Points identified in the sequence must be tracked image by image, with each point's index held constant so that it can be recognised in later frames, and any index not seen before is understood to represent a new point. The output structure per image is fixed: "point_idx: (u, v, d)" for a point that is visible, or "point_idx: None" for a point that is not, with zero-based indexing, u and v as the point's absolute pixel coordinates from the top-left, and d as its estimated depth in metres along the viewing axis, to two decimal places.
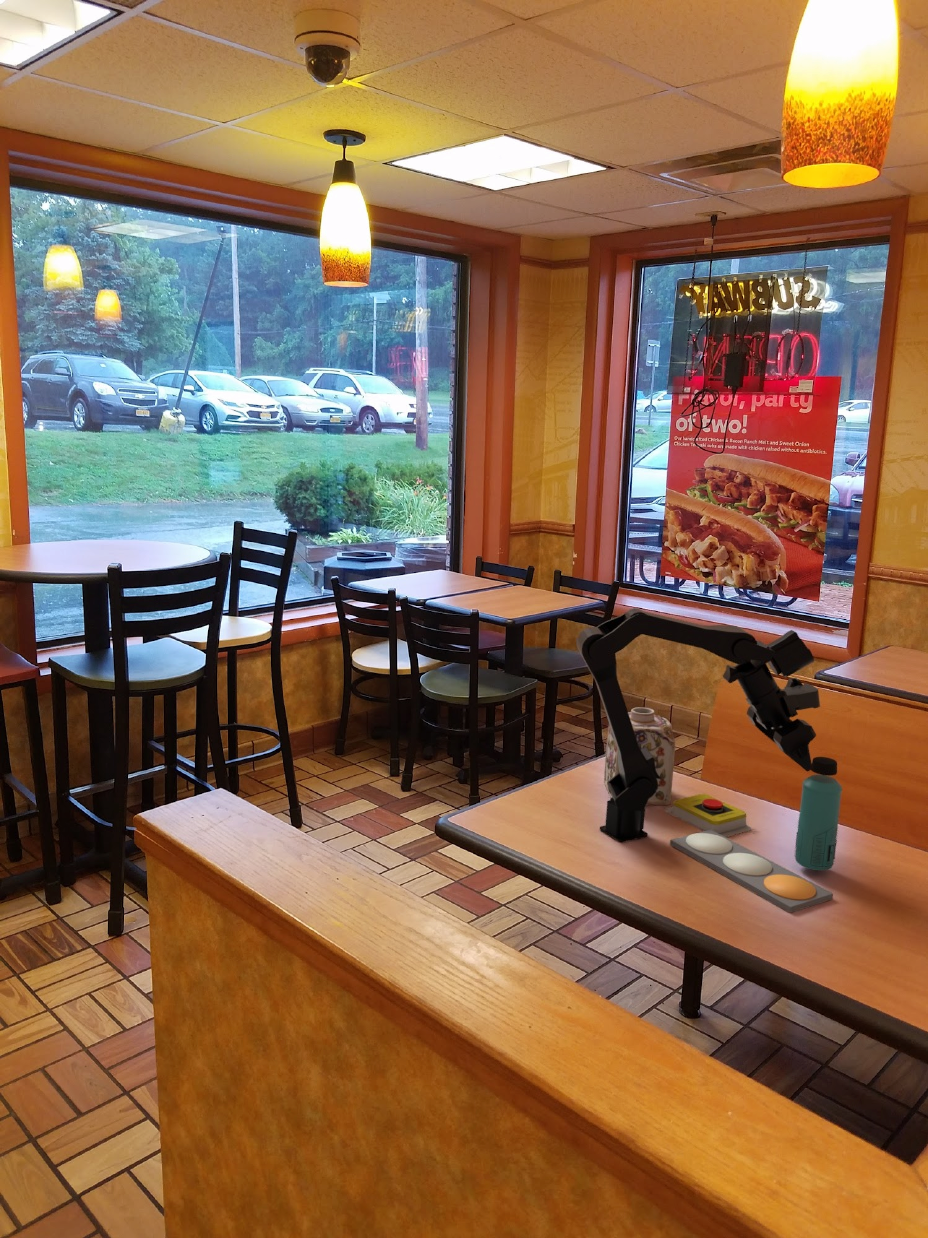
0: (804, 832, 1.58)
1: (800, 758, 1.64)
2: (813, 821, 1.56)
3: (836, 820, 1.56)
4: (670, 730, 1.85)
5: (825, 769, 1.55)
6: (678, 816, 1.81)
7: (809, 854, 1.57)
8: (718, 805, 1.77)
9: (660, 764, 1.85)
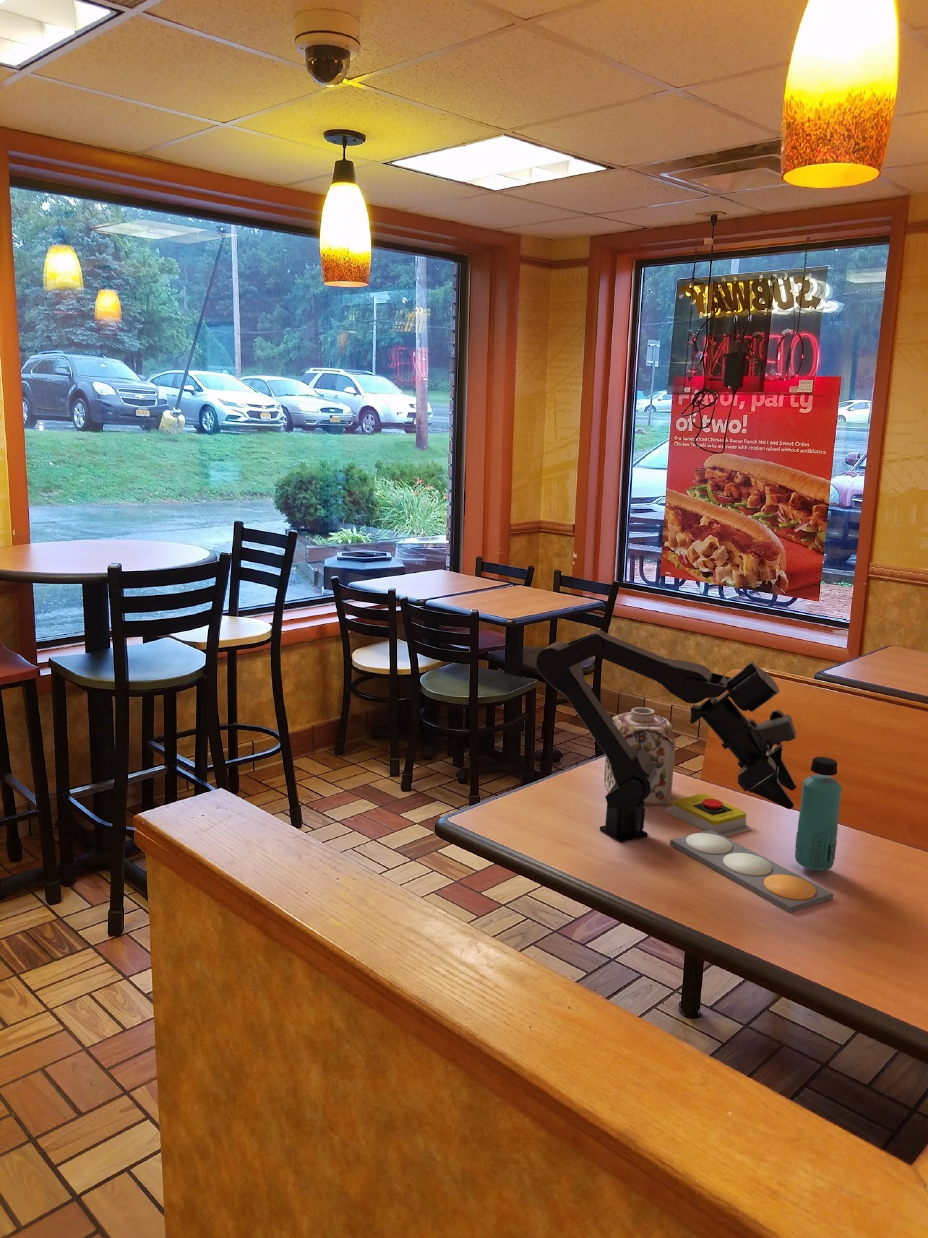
0: (804, 832, 1.58)
1: (774, 796, 1.55)
2: (813, 821, 1.56)
3: (836, 820, 1.56)
4: (670, 730, 1.85)
5: (825, 769, 1.55)
6: (678, 816, 1.81)
7: (809, 854, 1.57)
8: (718, 805, 1.78)
9: (660, 764, 1.85)
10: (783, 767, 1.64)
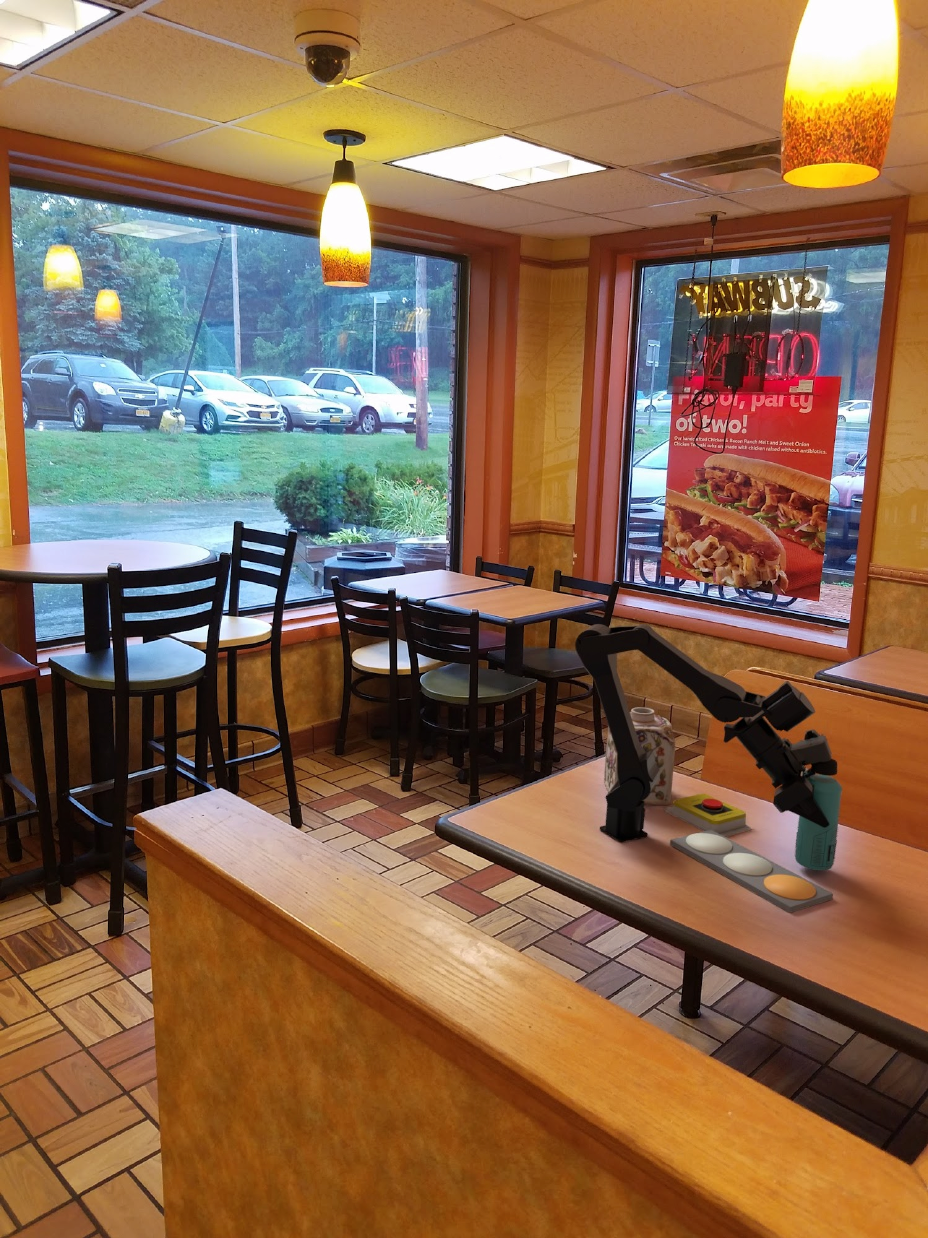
0: (804, 832, 1.58)
1: (810, 814, 1.55)
2: None
3: (836, 820, 1.56)
4: (670, 730, 1.85)
5: (825, 769, 1.55)
6: (678, 816, 1.81)
7: (809, 854, 1.57)
8: (718, 805, 1.78)
9: (660, 764, 1.85)
10: None
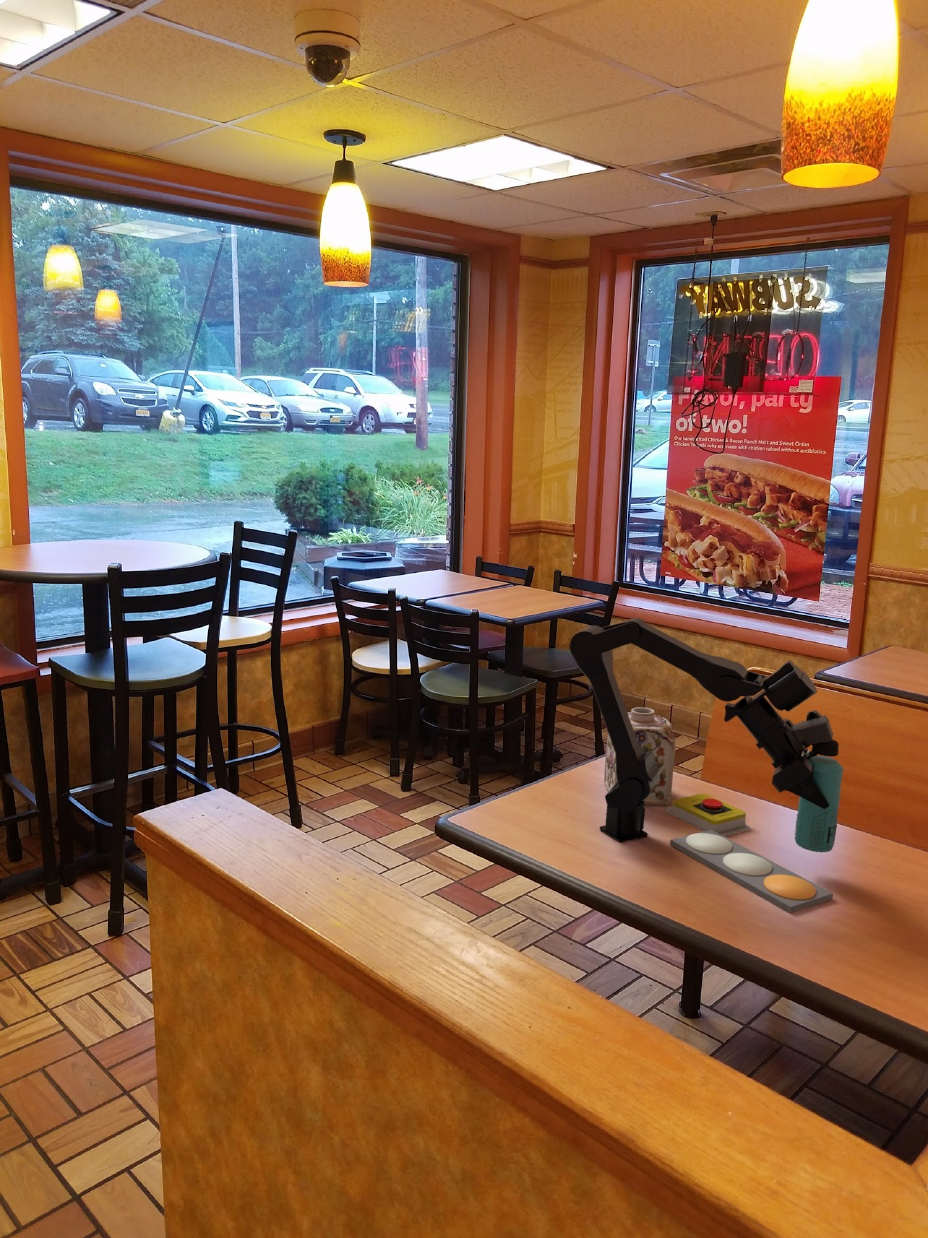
0: (804, 813, 1.56)
1: (809, 795, 1.53)
2: None
3: (837, 802, 1.55)
4: (670, 730, 1.85)
5: (826, 749, 1.54)
6: (677, 816, 1.81)
7: (809, 835, 1.56)
8: (717, 805, 1.78)
9: (660, 764, 1.85)
10: None
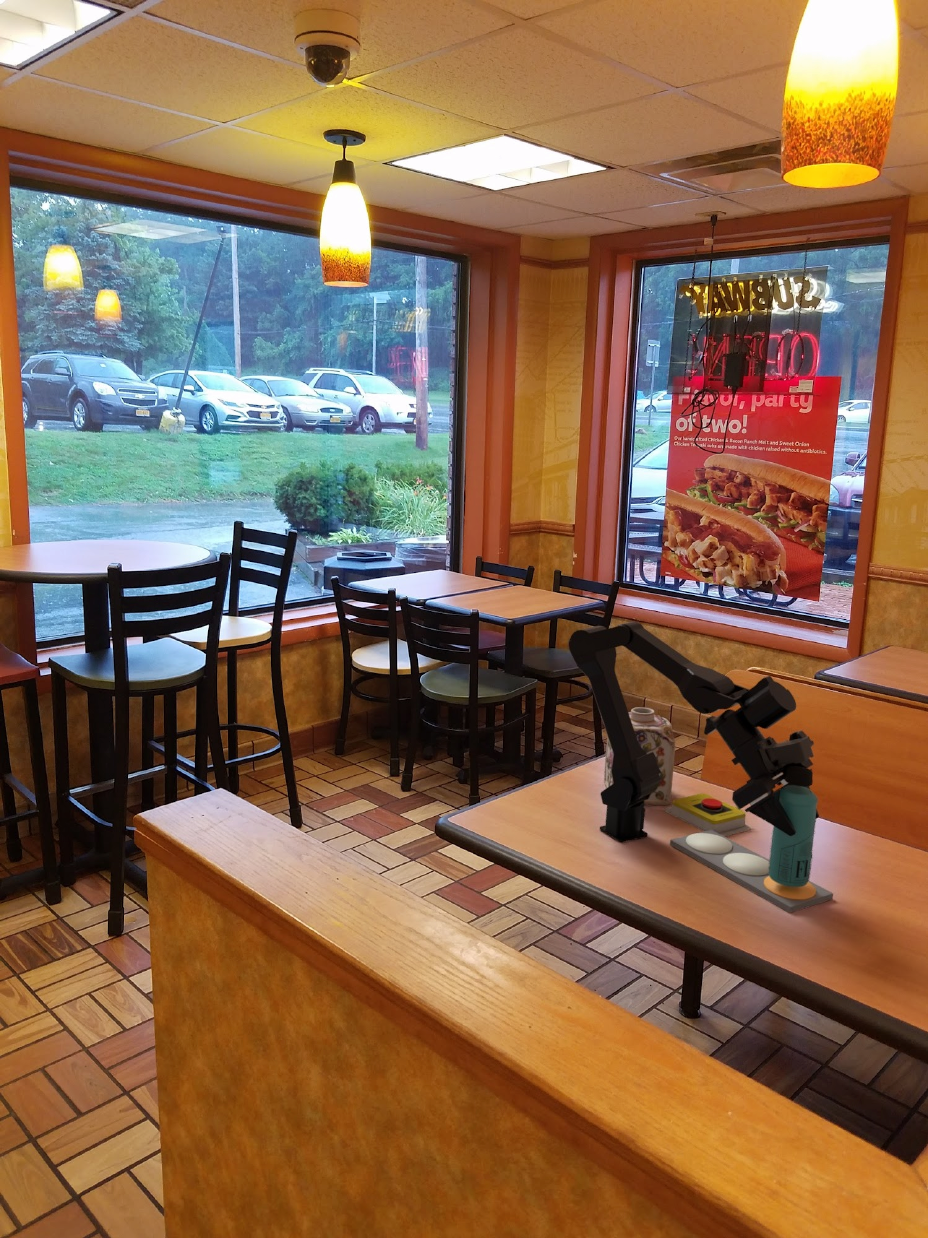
0: (774, 843, 1.50)
1: (773, 819, 1.46)
2: (781, 833, 1.48)
3: (807, 835, 1.47)
4: (670, 730, 1.85)
5: (795, 778, 1.46)
6: (677, 815, 1.81)
7: (777, 867, 1.49)
8: (717, 805, 1.78)
9: (660, 764, 1.85)
10: None
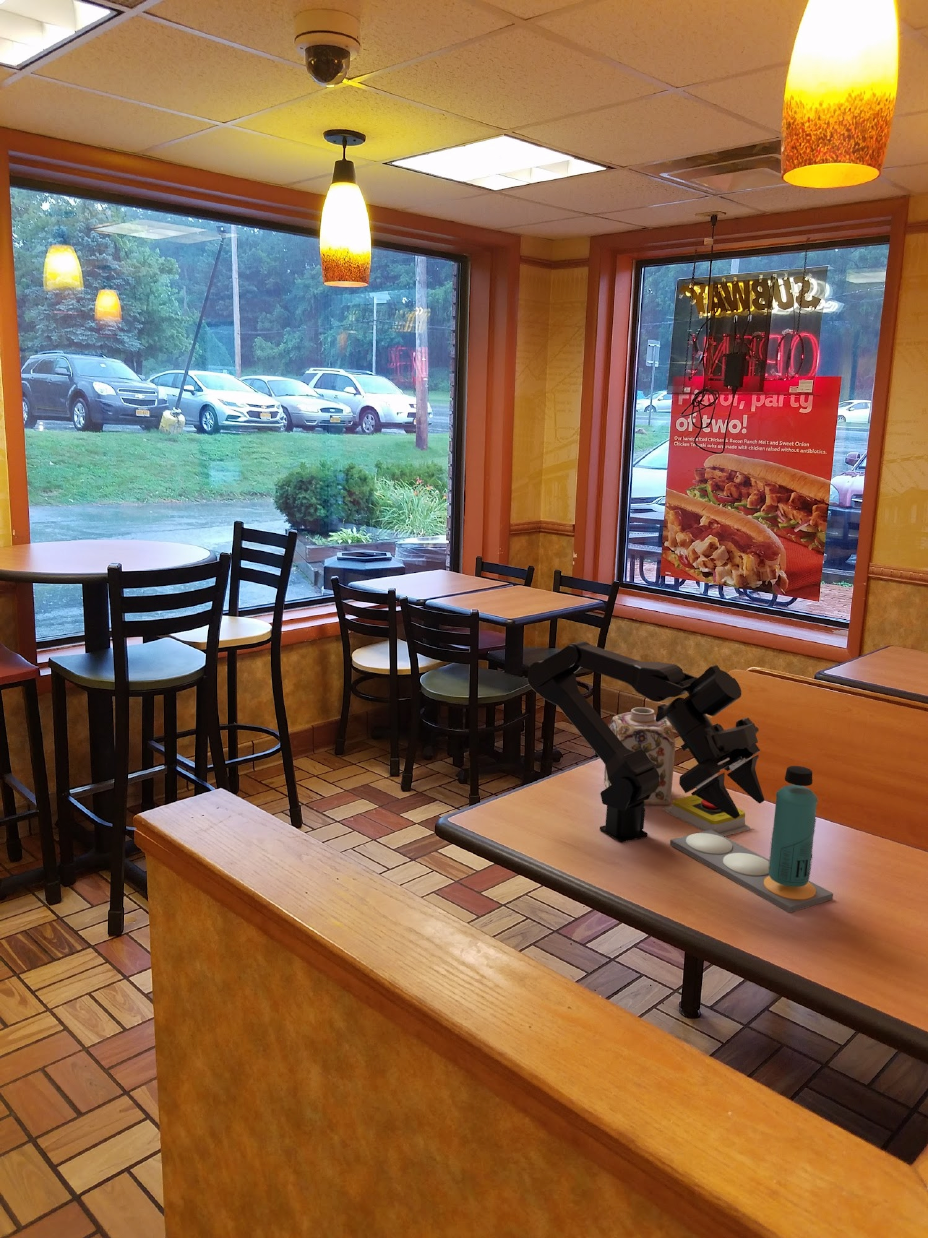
0: (774, 843, 1.50)
1: (718, 802, 1.52)
2: (781, 832, 1.48)
3: (807, 834, 1.47)
4: (670, 730, 1.85)
5: (795, 778, 1.47)
6: (677, 815, 1.81)
7: (777, 867, 1.49)
8: None
9: (660, 764, 1.85)
10: (752, 778, 1.59)
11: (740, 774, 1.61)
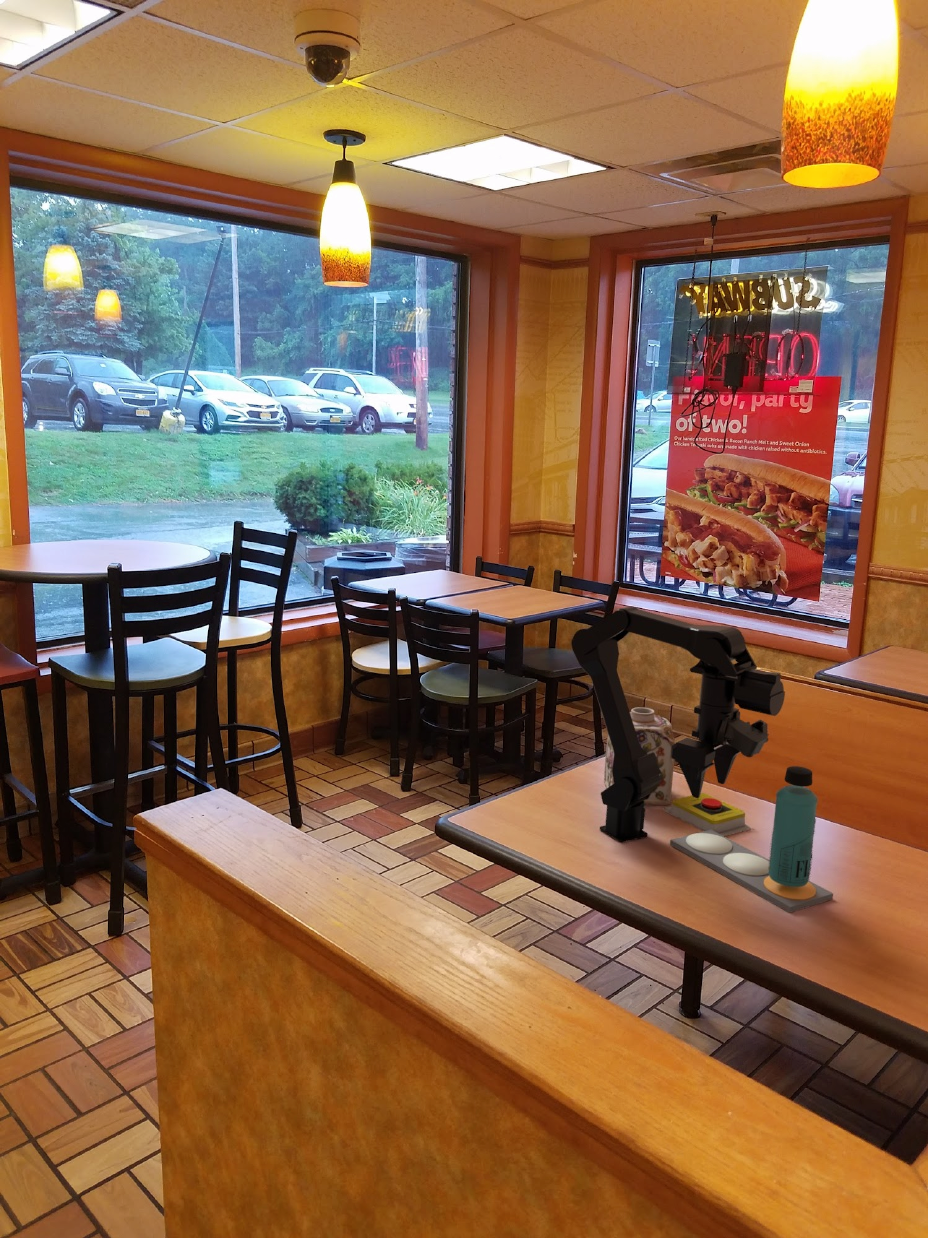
0: (774, 843, 1.50)
1: (690, 778, 1.55)
2: (781, 833, 1.48)
3: (807, 835, 1.47)
4: (670, 730, 1.85)
5: (795, 778, 1.46)
6: (677, 815, 1.81)
7: (777, 867, 1.49)
8: (717, 804, 1.78)
9: (660, 764, 1.85)
10: (729, 762, 1.62)
11: (721, 751, 1.63)
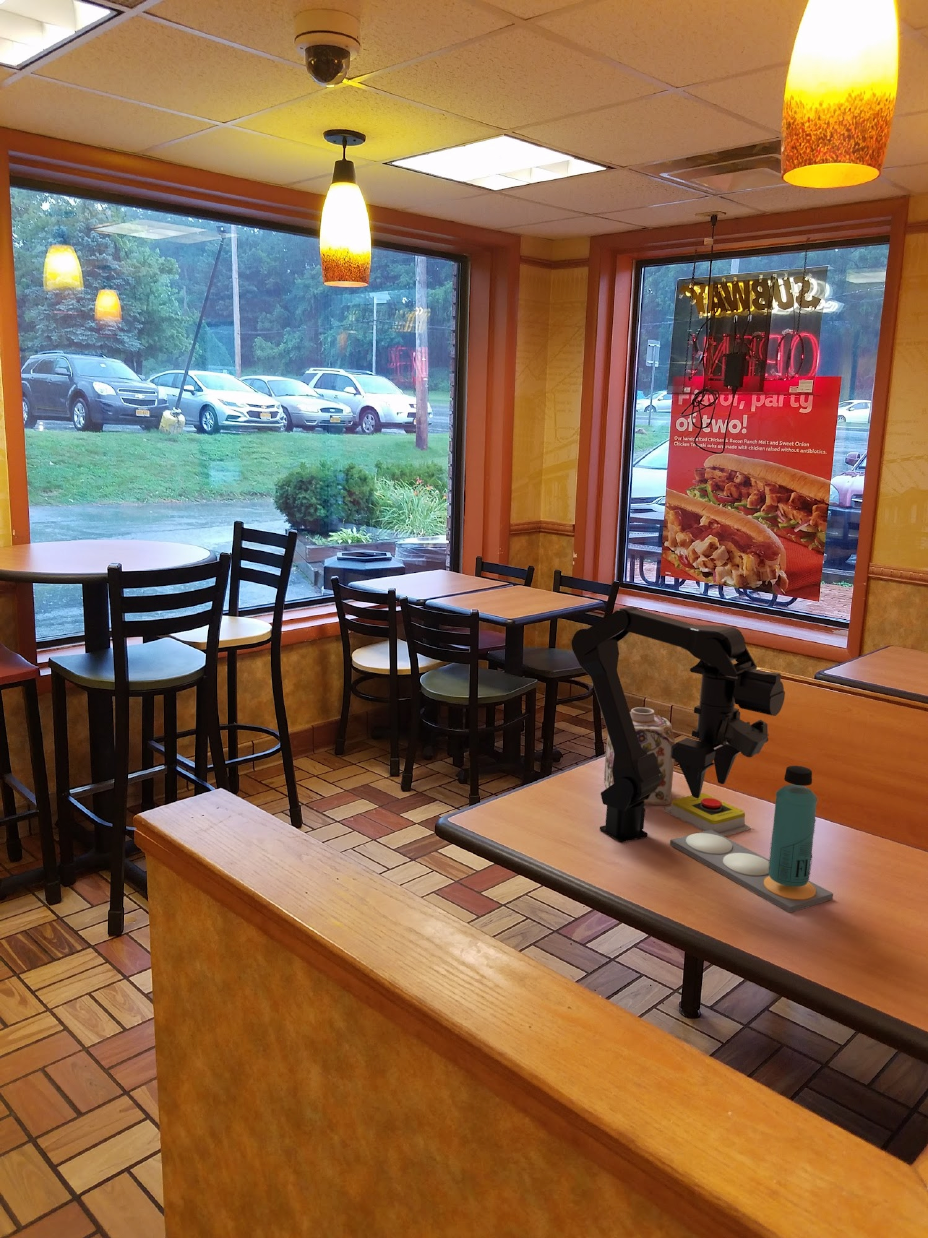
0: (773, 843, 1.50)
1: (690, 778, 1.55)
2: (781, 832, 1.48)
3: (807, 834, 1.47)
4: (670, 730, 1.85)
5: (795, 778, 1.47)
6: (677, 815, 1.81)
7: (777, 867, 1.49)
8: (717, 804, 1.78)
9: (660, 764, 1.85)
10: (729, 762, 1.62)
11: (722, 751, 1.63)
